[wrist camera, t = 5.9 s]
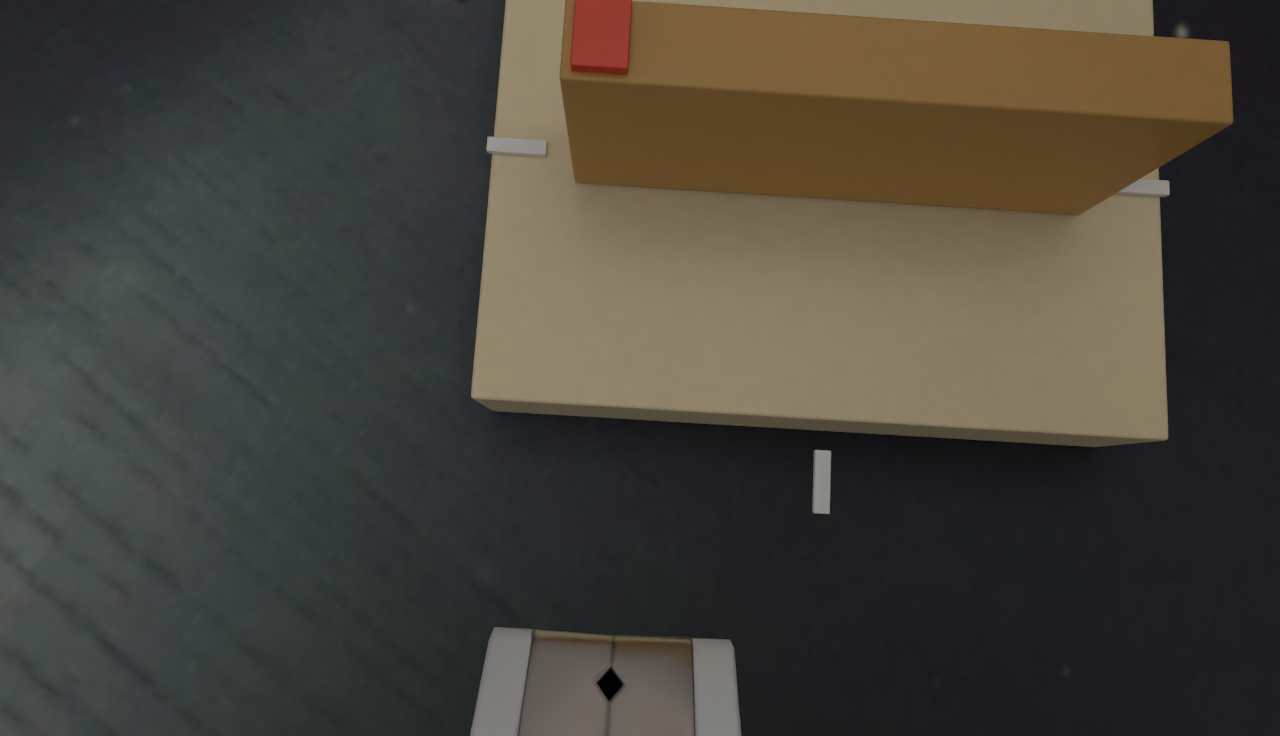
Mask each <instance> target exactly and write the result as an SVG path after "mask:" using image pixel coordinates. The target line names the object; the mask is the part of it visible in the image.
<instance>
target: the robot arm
mask: <svg viewBox="0 0 1280 736" xmlns="http://www.w3.org/2000/svg"><path fill="white" fill-rule="evenodd" d="M470 736H741V725H740V713H739V700H738V688H737V676H736V664H735V652H734V647H733V645H732V643H731V641H730V639H703V638H691V639H690V637H687V636H661V635H634V634H613V635H608V634H593V633H578V632H563V631H548V630H535V629H523V628H504V627H494V629H493V631H492V634H491V636H490V639H489V642H488V647H487V652H486V658H485V663H484V668H483V673H482V678H481V683H480V688H479V693H478V698H477V703H476V708H475V713H474V718H473V723H472V728H471V733H470Z"/></svg>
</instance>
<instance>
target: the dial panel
mask: <svg viewBox="0 0 1280 736" xmlns="http://www.w3.org/2000/svg"><path fill="white" fill-rule="evenodd" d="M565 1H566V0H506V4H505V15H504V27H503V38H502V49H501V61H500V72H499V83H498V95H497V106H496V117H495V129H494V137H488V139H487V153H492V162H491V174H490V185H489V196H488V208H487V219H486V230H485V242H484V253H483V264H482V276H481V287H480V298H479V310H478V321H477V332H476V343H475V355H474V366H473V377H472V389H471V397H472V398H473V399H474V400H476V401H477V402H479V403H481V404H482V405H484V406H485V407H487V408H489V409H490V410H492V411H501V412H518V413H534V414H551V415H568V416H585V417H601V418H618V419H635V420H651V421H668V422H685V423H702V424H718V425H735V426H752V427H769V428H785V429H802V430H819V431H835V432H852V433H869V434H886V435H902V436H919V437H936V438H952V439H969V440H986V441H1003V442H1019V443H1036V444H1053V445H1069V446H1086V447H1100V446H1111V445H1122V444H1133V443H1144V442H1155V441H1164V440H1167V439H1168V414H1167V387H1166V359H1165V331H1164V303H1163V276H1162V248H1161V220H1160V197H1166V196H1168V195H1169V194H1170V193H1169V181H1164V180H1159V168H1157V169H1156V170H1154V171H1152V172H1151V173H1149V174H1147V175H1146V176H1144V177H1142V178H1141V179H1139V180H1137V181H1136V182H1134V183H1132V184H1131V185H1129V186H1127V187H1126V188H1124V189H1122V190H1121V191H1119V192H1117V193H1116V194H1114V195H1112V196H1111V197H1109V198H1107V199H1106V200H1104V201H1102V202H1101V203H1099V204H1097V205H1095V206H1094V207H1092V208H1090V209H1089V210H1087V211H1085V212H1084V213H1082V214H1080V215H1074V214H1058V213H1043V212H1027V211H1012V210H996V209H981V208H965V207H950V206H934V205H918V204H903V203H887V202H872V201H856V200H841V199H825V198H810V197H794V196H778V195H763V194H747V193H732V192H716V191H701V190H685V189H669V188H654V187H638V186H623V185H607V184H592V183H577V182H575V180H574V174H573V167H572V160H571V153H570V146H569V139H568V132H567V125H566V118H565V111H564V105H563V98H562V91H561V84H560V64H561V51H562V38H563V25H564V12H565ZM632 1H640V2H655V3H669V4H684V5H699V6H714V7H728V8H743V9H758V10H773V11H787V12H802V13H817V14H832V15H846V16H861V17H876V18H891V19H905V20H920V21H935V22H950V23H964V24H979V25H994V26H1009V27H1023V28H1038V29H1053V30H1068V31H1082V32H1097V33H1112V34H1127V35H1141V36H1154V27H1153V0H632ZM830 479H831V451H826V450H814V467H813V505H812V513H820V514H830Z"/></svg>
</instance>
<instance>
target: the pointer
mask: <svg viewBox="0 0 1280 736" xmlns="http://www.w3.org/2000/svg"><path fill="white" fill-rule="evenodd" d="M560 84H561V91H562V98H563V105H564V111H565V118H566V125H567V132H568V139H569V146H570V153H571V160H572V167H573V174H574V180H575V182H577V183H592V184H607V185H623V186H638V187H654V188H669V189H685V190H701V191H716V192H732V193H747V194H763V195H778V196H794V197H810V198H825V199H841V200H856V201H872V202H887V203H903V204H918V205H934V206H950V207H965V208H981V209H996V210H1012V211H1027V212H1043V213H1058V214H1074V215H1080V214H1082V213H1084V212H1085V211H1087V210H1089V209H1090V208H1092V207H1094V206H1095V205H1097V204H1099V203H1101V202H1102V201H1104V200H1106V199H1107V198H1109V197H1111V196H1112V195H1114V194H1116V193H1117V192H1119V191H1121V190H1122V189H1124V188H1126V187H1127V186H1129V185H1131V184H1132V183H1134V182H1136V181H1137V180H1139V179H1141V178H1142V177H1144V176H1146V175H1147V174H1149V173H1151V172H1152V171H1154V170H1156V169H1157V168H1159V167H1161V166H1162V165H1164V164H1166V163H1167V162H1169V161H1171V160H1172V159H1174V158H1176V157H1177V156H1179V155H1181V154H1182V153H1184V152H1186V151H1187V150H1189V149H1191V148H1192V147H1194V146H1196V145H1197V144H1199V143H1201V142H1202V141H1204V140H1206V139H1208V138H1209V137H1211V136H1213V135H1214V134H1216V133H1218V132H1219V131H1221V130H1223V129H1224V128H1226V127H1228V126H1229V125H1231V124H1232V123H1233V105H1232V85H1231V66H1230V46H1229V42H1227V41H1215V40H1200V39H1186V38H1171V37H1156V36H1141V35H1127V34H1112V33H1097V32H1082V31H1068V30H1053V29H1038V28H1023V27H1009V26H994V25H979V24H964V23H950V22H935V21H920V20H905V19H891V18H876V17H861V16H846V15H832V14H817V13H802V12H787V11H773V10H758V9H743V8H728V7H714V6H699V5H684V4H669V3H655V2H640V1H632V0H566V1H565V12H564V25H563V38H562V51H561V64H560Z"/></svg>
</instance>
